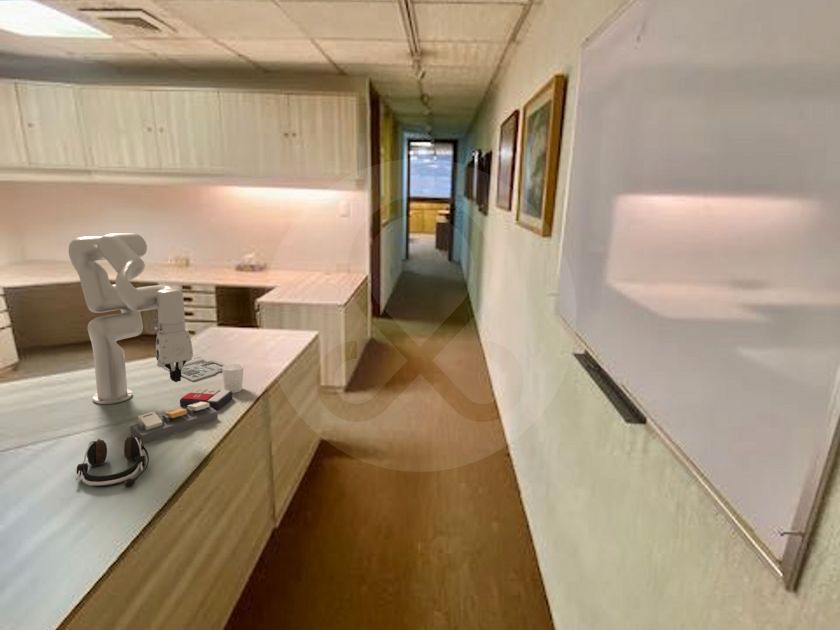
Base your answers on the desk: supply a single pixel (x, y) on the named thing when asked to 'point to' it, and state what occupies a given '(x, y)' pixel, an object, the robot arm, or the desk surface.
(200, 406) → the rocker
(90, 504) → the desk surface
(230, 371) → the white cup
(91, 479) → the headset
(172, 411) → the rocker middle
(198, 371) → the office telephone
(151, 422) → the rocker
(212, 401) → the calculator
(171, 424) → the rocker switch panel
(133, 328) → the robot arm
